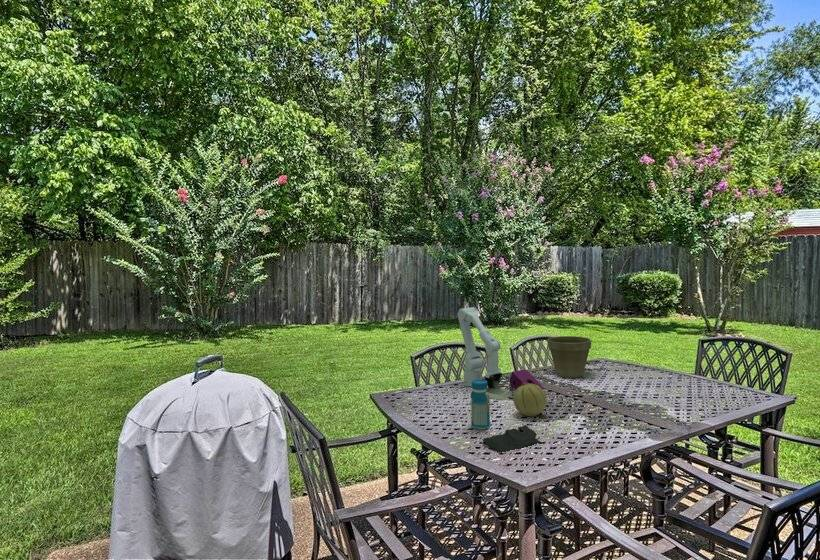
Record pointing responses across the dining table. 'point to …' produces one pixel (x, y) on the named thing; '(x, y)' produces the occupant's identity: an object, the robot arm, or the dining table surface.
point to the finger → (496, 385)
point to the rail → (497, 393)
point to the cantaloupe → (530, 399)
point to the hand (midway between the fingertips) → (493, 388)
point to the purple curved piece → (522, 379)
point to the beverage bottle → (480, 405)
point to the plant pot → (569, 355)
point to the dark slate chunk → (512, 439)
